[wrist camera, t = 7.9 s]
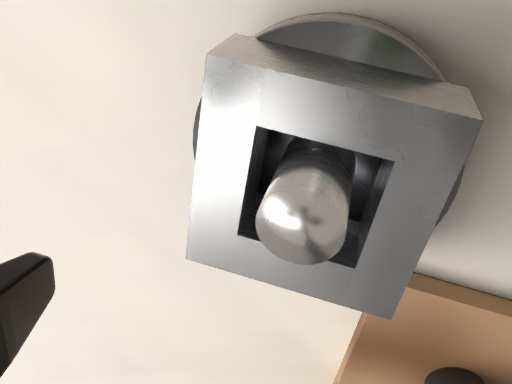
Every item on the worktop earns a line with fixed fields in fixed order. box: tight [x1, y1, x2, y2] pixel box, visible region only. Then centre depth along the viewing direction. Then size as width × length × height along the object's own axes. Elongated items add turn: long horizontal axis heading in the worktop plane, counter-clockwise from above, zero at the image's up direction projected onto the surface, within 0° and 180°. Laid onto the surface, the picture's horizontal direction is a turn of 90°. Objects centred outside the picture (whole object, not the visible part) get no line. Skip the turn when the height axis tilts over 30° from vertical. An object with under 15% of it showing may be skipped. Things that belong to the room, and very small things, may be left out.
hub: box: [193, 13, 465, 265], centre depth 14 cm, size 9×9×6 cm
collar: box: [186, 34, 484, 320], centre depth 14 cm, size 7×7×3 cm
